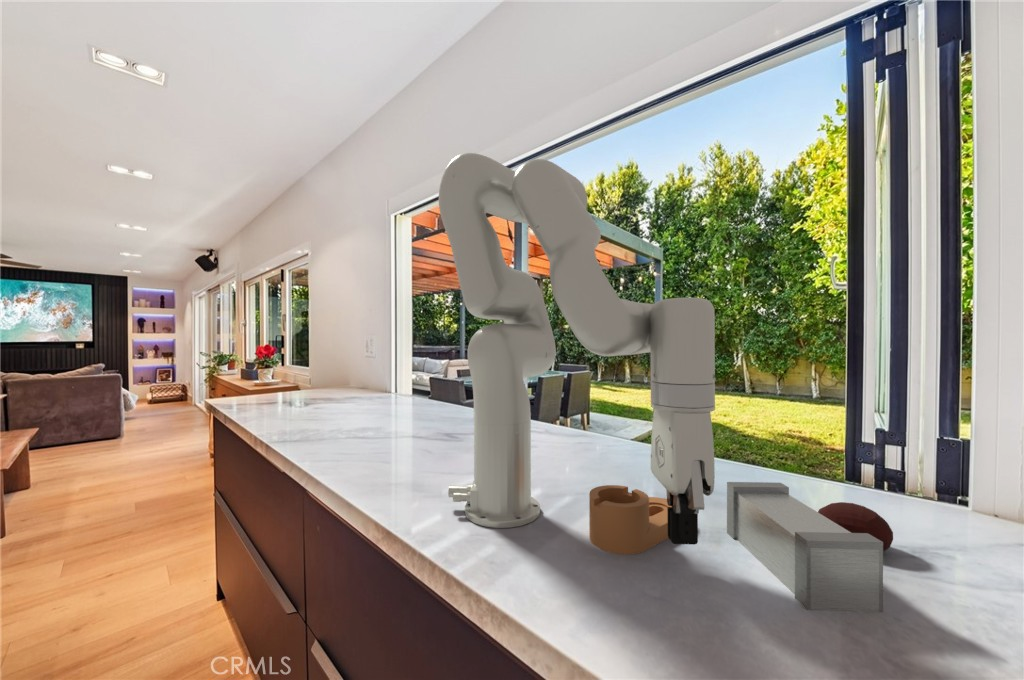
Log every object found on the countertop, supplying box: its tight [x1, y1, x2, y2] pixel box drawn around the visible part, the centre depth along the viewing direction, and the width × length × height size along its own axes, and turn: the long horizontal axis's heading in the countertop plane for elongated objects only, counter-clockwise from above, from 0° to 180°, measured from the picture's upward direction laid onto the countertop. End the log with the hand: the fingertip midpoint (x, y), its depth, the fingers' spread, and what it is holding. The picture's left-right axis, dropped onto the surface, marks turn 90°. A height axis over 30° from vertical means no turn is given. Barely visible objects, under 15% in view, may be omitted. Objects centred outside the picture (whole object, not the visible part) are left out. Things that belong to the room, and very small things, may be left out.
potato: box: [817, 502, 894, 552], centre depth 58 cm, size 7×8×6 cm
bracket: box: [588, 484, 672, 555], centre depth 63 cm, size 18×8×7 cm, turn 129°
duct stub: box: [726, 481, 884, 613], centre depth 53 cm, size 8×18×8 cm, turn 177°
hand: (682, 540), depth 53 cm, fingers closed
